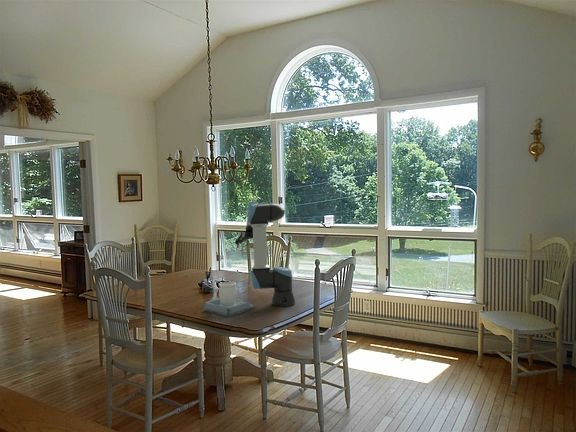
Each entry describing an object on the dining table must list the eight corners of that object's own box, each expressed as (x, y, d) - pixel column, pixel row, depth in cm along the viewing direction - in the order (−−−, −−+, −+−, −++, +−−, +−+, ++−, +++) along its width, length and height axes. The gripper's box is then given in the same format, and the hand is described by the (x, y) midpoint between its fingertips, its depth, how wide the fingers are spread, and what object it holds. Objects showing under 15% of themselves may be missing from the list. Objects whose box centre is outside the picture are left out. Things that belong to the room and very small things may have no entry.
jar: (219, 310, 264) (219, 285, 263) (219, 305, 274) (218, 282, 273) (237, 308, 266) (236, 284, 265) (236, 304, 276) (235, 280, 275)
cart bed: (256, 307, 273) (255, 300, 273) (228, 316, 255) (228, 308, 255) (232, 302, 287) (231, 294, 287) (204, 310, 270) (204, 302, 269)
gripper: (268, 231, 323) (266, 254, 309) (235, 231, 325) (231, 254, 311) (267, 224, 317) (265, 248, 304) (233, 224, 319) (229, 248, 306)
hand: (248, 251), depth 307 cm, fingers open, 13 cm apart
